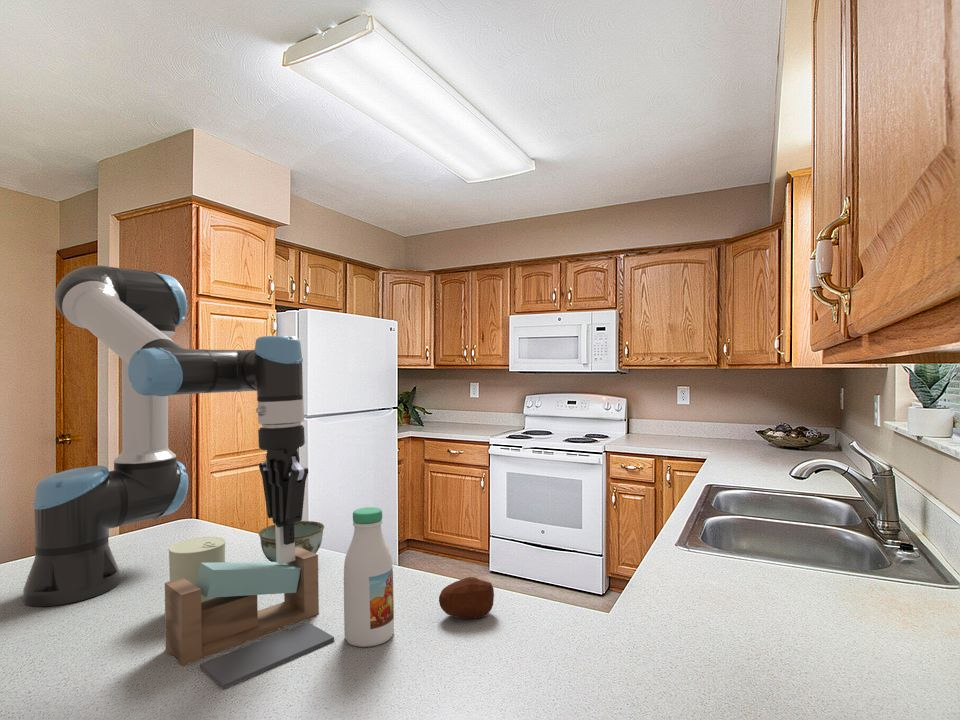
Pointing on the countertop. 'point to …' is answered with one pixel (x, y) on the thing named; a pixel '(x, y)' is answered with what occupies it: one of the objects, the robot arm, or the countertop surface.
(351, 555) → the milk bottle
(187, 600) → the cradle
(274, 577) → the slab
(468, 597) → the potato
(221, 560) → the can
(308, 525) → the bowl
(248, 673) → the mat
